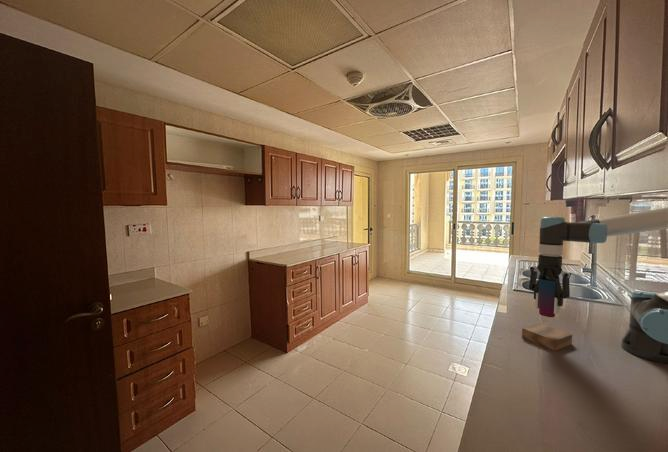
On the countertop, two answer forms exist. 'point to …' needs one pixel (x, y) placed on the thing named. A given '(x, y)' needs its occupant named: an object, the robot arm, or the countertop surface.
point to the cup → (547, 296)
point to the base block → (547, 336)
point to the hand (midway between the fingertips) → (547, 310)
